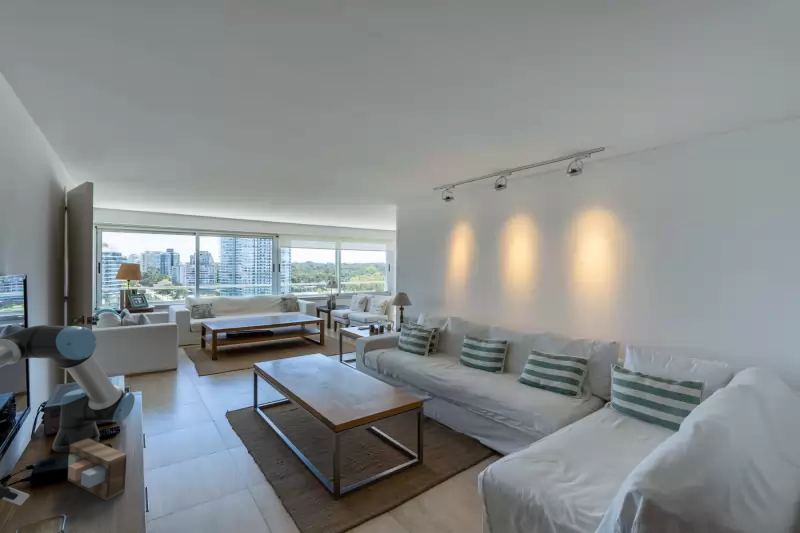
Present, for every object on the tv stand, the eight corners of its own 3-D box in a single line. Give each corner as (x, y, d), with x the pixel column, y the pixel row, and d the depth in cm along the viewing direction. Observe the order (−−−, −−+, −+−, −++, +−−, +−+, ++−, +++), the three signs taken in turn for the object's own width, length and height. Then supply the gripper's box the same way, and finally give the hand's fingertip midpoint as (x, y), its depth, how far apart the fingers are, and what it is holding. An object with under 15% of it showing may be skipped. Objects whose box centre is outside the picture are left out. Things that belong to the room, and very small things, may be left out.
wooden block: (67, 480, 130) (69, 444, 130) (85, 472, 135) (88, 438, 135) (106, 500, 121) (108, 461, 121) (124, 491, 126) (126, 454, 126)
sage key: (68, 466, 129) (68, 455, 129) (84, 459, 133) (85, 449, 133) (74, 469, 127) (75, 458, 127) (91, 462, 131) (92, 452, 132)
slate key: (80, 484, 119) (81, 472, 119) (98, 476, 124) (99, 464, 124) (88, 488, 117) (89, 475, 117) (106, 480, 122) (106, 468, 122)
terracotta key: (67, 477, 122) (68, 465, 122) (85, 470, 127) (86, 458, 127) (75, 481, 120) (75, 469, 120) (92, 473, 125) (93, 462, 125)
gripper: (-88, 478, 92) (1, 506, 107) (-69, 493, 86) (21, 521, 101) (-54, 448, 97) (26, 479, 112) (-34, 461, 91) (47, 492, 106)
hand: (24, 499), depth 106 cm, fingers closed
